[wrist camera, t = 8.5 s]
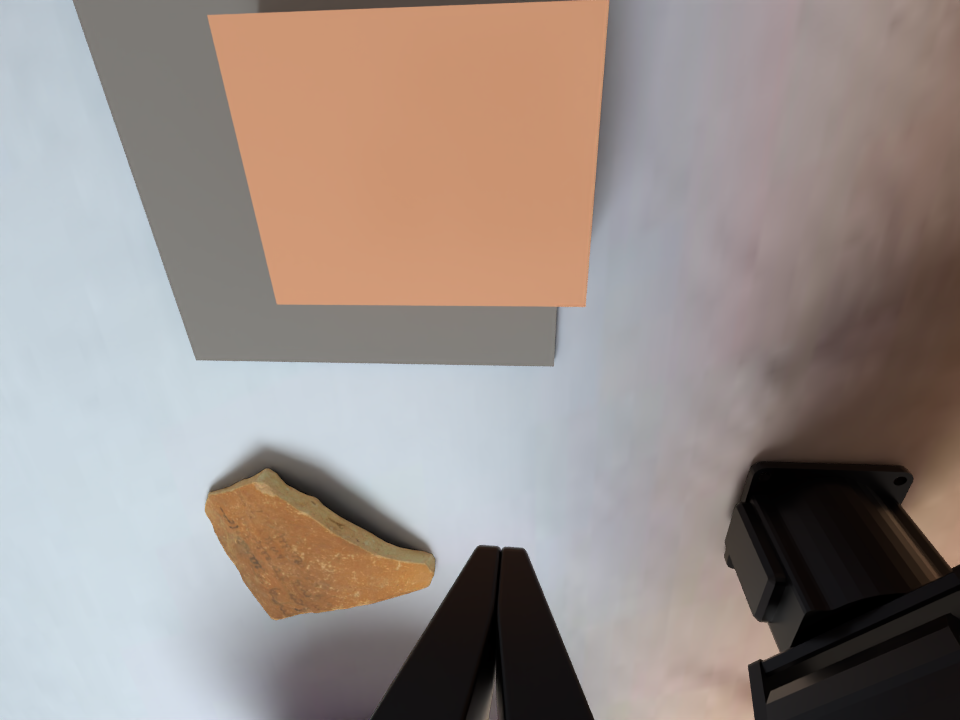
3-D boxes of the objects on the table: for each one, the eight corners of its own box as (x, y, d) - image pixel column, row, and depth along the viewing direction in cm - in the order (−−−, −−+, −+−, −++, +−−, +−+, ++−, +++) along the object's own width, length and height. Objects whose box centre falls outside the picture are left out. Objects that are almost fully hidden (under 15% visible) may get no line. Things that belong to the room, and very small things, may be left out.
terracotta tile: (609, -1, 13) (207, 14, 14) (585, 306, 17) (276, 304, 18) (596, 6, 15) (258, 19, 16) (577, 271, 19) (309, 271, 20)
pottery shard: (447, 563, 29) (440, 605, 27) (321, 609, 32) (306, 650, 30) (322, 430, 25) (303, 467, 23) (191, 498, 28) (163, 536, 26)
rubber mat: (579, -179, 14) (580, -186, 13) (553, 361, 22) (553, 366, 21) (33, -143, 15) (21, -148, 15) (201, 355, 23) (196, 360, 23)
